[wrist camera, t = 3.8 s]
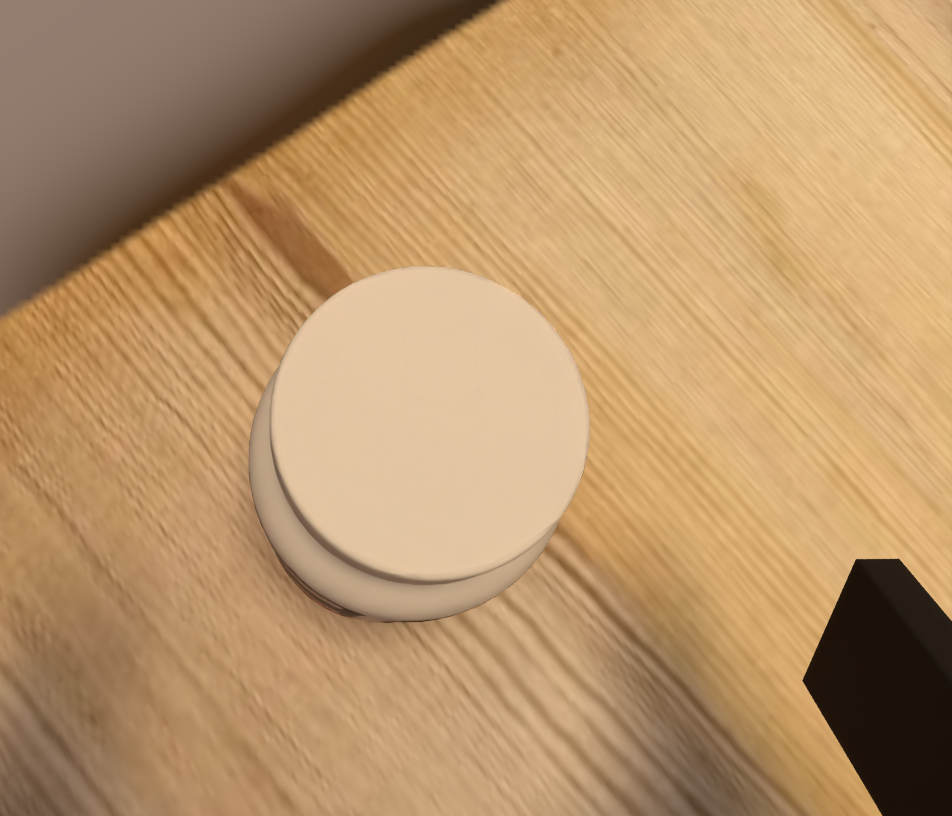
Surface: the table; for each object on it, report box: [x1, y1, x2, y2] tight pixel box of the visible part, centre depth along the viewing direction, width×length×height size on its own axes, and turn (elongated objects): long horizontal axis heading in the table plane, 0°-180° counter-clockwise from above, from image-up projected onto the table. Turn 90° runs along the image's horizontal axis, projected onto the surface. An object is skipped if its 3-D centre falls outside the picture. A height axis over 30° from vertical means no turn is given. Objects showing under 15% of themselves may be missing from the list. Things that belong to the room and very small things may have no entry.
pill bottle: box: [249, 266, 590, 623], centre depth 17 cm, size 6×6×10 cm
